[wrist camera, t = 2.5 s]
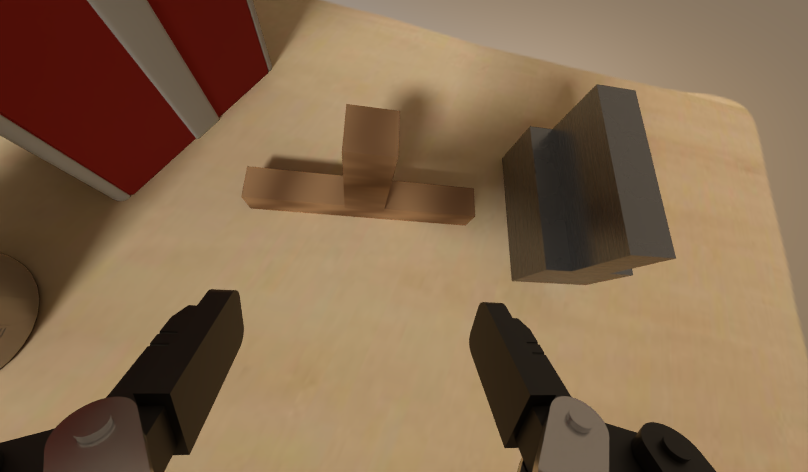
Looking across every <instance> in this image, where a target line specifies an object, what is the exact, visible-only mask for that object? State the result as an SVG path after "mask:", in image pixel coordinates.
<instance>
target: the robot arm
mask: <svg viewBox="0 0 808 472" xmlns="http://www.w3.org/2000/svg"><path fill="white" fill-rule="evenodd" d="M38 307H39V295H38V288H37V285H36V283H35V280H34V278H33V276H32V274H31V273H30V272H29V271H28V270H27V269H26V268H25V266H24V265H23V264H21V263H20V262H18V261H16V260H15V259H13V258H12V257H9V256H7V255H4V254H1V253H0V368H2V367H3V366H4V365H5V364H6V363H7V362H9V361H10V360H11V359H12V357H13V356H14V355H15V354H16V353H17V352H18V351H19V349H20V348H21V347H22V346H23V344H24V343H25V341H26V339H27V338H28V336H29V334H30V333H31V331H32V329H33V326H34V323H35V320H36V318H37V315H38ZM243 333H244V325H243V318H242V310H241V303H240V296H239V293H238V291H236V290H215V289H211V290H209V291H208V292H207V293H206V294H205V296H204V297H203V298H202V300H201V301H200V303H199V304H198V305H197V306H193V305H188V306H187V307H185V308H184V309H182V310H181V311H179V312H178V313H177V314H175V315H174V316H172V317H171V318H170V319H169V321H168V322H167V323H166V324H165V326H164V327H163V328H162V329H161V330H160V334H157V335H156V337H155V338H154V339H153V340H152V342H151V343H150V346H148V347H147V348H146V349H145V350H144V352H143V353H142V354H141V355H140V357H139V358H138V359H137V360H136V362H135V363H134V364H133V365H132V367H131V368H130V369H129V370H128V371H127V373H126V374H125V375H124V376H123V378H122V379H121V380H120V381H119V383H118V384H117V385H116V386H115V388H114V389H113V390H112V391H111V393H110V394H109V395H108V396H107V397H106V398H104V399H100V400H97V401H95V402H92V403H90V404H88V405H85V406H84V407H82V408H80V409H78V410H76V411H75V412H74V413H72V414H71V415H69V416H68V417H67V418H65V419H64V420H63V421H62V422H61V423H60V424H59V425H58V426H57V427H56V428H55V429H51V430H48V431H44V432H40V433H37V434H33V435H29V436H25V437H21V438H17V439H13V440H10V441H6V442H2V443H0V472H164V471H165V469H166V467H167V465H168V463H169V461H170V459H171V457H172V455H190V453H191V450H192V448H193V446H194V444H195V442H196V440H197V438H198V436H199V433H200V431H201V429H202V427H203V425H204V423H205V421H206V419H207V416H208V414H209V412H210V410H211V408H212V406H213V404H214V402H215V399H216V397H217V395H218V393H219V391H220V389H221V387H222V384H223V382H224V380H225V378H226V376H227V374H228V372H229V370H230V367H231V365H232V363H233V361H234V359H235V357H236V355H237V353H238V350H239V348H240V346H241V343H242V339H243ZM469 345H470V351H471V355H472V357H473V360H474V363H475V366H476V369H477V371H478V374H479V377H480V380H481V383H482V386H483V388H484V391H485V394H486V397H487V400H488V402H489V405H490V408H491V411H492V414H493V417H494V419H495V422H496V425H497V428H498V431H499V433H500V436H501V439H502V442H503V445H504V448H519V450H520V453H521V455H522V458H521V460H520V463H519V466H518V470H517V472H716V471H715V470H714V468H713V467H712V466H711V465H710V463H709V462H708V461H707V460H706V459H705V457H704V456H703V455H702V454H701V452H700V451H699V450H698V449H697V448H696V447H695V446H694V445H693V444H692V443H691V442H690V441H689V440H688V439H687V438H685V437H684V436H683V435H681V434H680V433H679V432H677V431H675V430H674V429H672V428H670V427H668V426H665V425H663V424H659V423H654V422H650V423H646V424H645V425H643V426H642V428H641V429H640V430H639V432H638V433H636V432H633V431H629V430H626V429H623V428H620V427H616V426H613V425H610V424H607V423H604V421H603V420H602V418H601V417H600V416H599V415H598V414H597V413H596V411H594V410H593V409H592V408H591V407H590V406H588V405H587V404H586V403H584V402H582V401H580V400H578V399H576V398H573V397H571V396H570V394H569V392H568V391H567V389H566V387H565V386H564V384H563V383H562V381H561V379H560V378H559V376H558V374H557V373H556V371H555V369H554V368H553V366H552V365H551V363H550V361H549V360H548V358H547V356H546V355H544V352H543V350H542V348H541V347H540V345H538V342H537V340H536V339H535V337H534V335H533V334H532V332H531V330H530V329H529V328H528V327H527V326H526V325H524V324H523V323H522V322H521V321H520V320H519V319H517V318H512V316H511V314H510V313H509V311H508V309H507V308H506V306H505V305H504V304H503V303H489V302H482V303H480V305H479V307H478V310H477V313H476V316H475V320H474V323H473V326H472V329H471V333H470V338H469Z"/></svg>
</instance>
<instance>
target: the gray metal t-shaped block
mask: <svg viewBox="0 0 808 472" xmlns="http://www.w3.org/2000/svg"><path fill="white" fill-rule="evenodd" d="M502 160H503V173H504V186H505V198H506V211H507V224H508V236H509V249H510V261H511V274H512V281H521V282H540V283H558V284H577V285H588V284H593V283H598V282H602V281H607V280H612V279H617V278H622V277H627V276H632V275H633V272H632V268H636V267H641V266H645V265H649V264H654V263H658V262H662V261H667V260H671V259H676V256H675V252H674V248H673V244H672V240H671V236H670V232H669V227H668V223H667V219H666V215H665V211H664V207H663V203H662V199H661V194H660V190H659V186H658V182H657V178H656V174H655V170H654V165H653V161H652V157H651V153H650V149H649V145H648V141H647V137H646V132H645V128H644V124H643V120H642V116H641V112H640V108H639V103H638V99H637V95H636V91H635V90H629V89H622V88H616V87H610V86H604V85H596V86H595V87H594V88H593V89H592V90H591V91H590V92H589V93H588V94H587V95H586V96H585V97H584V98H583V99H582V100H581V101H580V102H579V103H578V104H577V105H576V106H575V107H574V108H573V109H572V110H571V111H570V112H569V113H568V114H567V115H566V116H565V117H564V118H563V119H562V120H561V121H560V122H559V123H558V124H557V125H556V126H555V127H554V128H553V129H546V128H538V127H531V126H530V127H529V128H528V129H527V130H526V132H525V133H524V134H523V135H522V136H521V137H520V139H519V140H518V141H517V142H516V143H515V144H514V145H513V147H512V148H511V149H510V150H509V151H508V152H507V154H506V155H505V156H504V157H503V158H502Z"/></svg>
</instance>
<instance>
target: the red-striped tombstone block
mask: <svg viewBox="0 0 808 472" xmlns="http://www.w3.org/2000/svg"><path fill="white" fill-rule="evenodd" d="M271 69H272V64H271V61H270V57H269V54H268V51H267V47H266V44H265V40H264V37H263V34H262V30H261V27H260V23H259V20H258V17H257V13H256V10H255V6H254V3H253V0H0V135H1V136H2V137H4V138H6V139H8V140H9V141H11V142H13V143H15V144H17V145H18V146H20V147H22V148H24V149H25V150H27V151H29V152H31V153H32V154H34V155H36V156H38V157H40V158H41V159H43V160H45V161H47V162H48V163H50V164H52V165H54V166H55V167H57V168H59V169H61V170H63V171H64V172H66V173H68V174H70V175H71V176H73V177H75V178H77V179H79V180H80V181H82V182H84V183H86V184H87V185H89V186H91V187H93V188H94V189H96V190H98V191H100V192H102V193H103V194H105V195H107V196H109V197H110V198H112V199H114V200H117V201H124V200H127V199H129V198H130V195H131V194H132V195H133V194H135V193H136V192H137V191H138V190H139V189H140V188H141V187H143V186H144V185H145V184H146V183H147V182H148V181H149V180H150V179H151V178H153V177H154V176H155V175H156V174H157V173H158V172H159V171H160V170H161V169H162V168H164V167H165V166H166V165H167V164H168V163H169V162H170V161H171V160H172V159H174V158H175V157H176V156H177V155H178V154H179V153H180V152H181V151H182V150H184V149H185V148H186V147H187V146H188V145H189V144H190V143H191V142H192V141H193V140H195V139H196V138H197V139H198V138H200V137H201V136H202V135H203V134H205V133H206V132H207V131H208V130H209V129H210V128H211V127H212V126H213V125H214V124H216V123H217V122H218V121H219V117H220V116H221V115H222V114H223V113H224V112H226V111H227V110H228V109H229V108H230V107H231V106H232V105H233V104H234V103H236V102H237V101H238V100H239V99H240V98H241V97H242V96H243V95H244V94H245V93H247V92H248V91H249V90H250V89H251V88H252V87H253V86H254V85H255V84H257V83H258V82H259V81H260V80H261V79H262V78H263V77H264V76H265V75H266V74H268V71H271Z"/></svg>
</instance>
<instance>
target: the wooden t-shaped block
mask: <svg viewBox="0 0 808 472" xmlns="http://www.w3.org/2000/svg"><path fill="white" fill-rule="evenodd" d="M399 124H400V111H395V110H388V109H380V108H372V107H365V106H357V105H349V104H346V115H345V125H344V136H343V146H342V162H343V176H340V175H330V174H320V173H310V172H300V171H290V170H279V169H269V168H259V167H249V166H247V171H246V176H245V181H244V186H243V191H242V196H241V197H242V198H243V199H244V200H245V202H246V203H247V204H248V205H249V207H250V208H253V209H266V210H278V211H291V212H303V213H316V214H328V215H341V216H353V217H366V218H378V219H391V220H404V221H416V222H429V223H441V224H454V225H466V224H467V223H468V222H469V221H471V220H472V219H473V218H474V217H475V205H474V189H473V188H463V187H453V186H442V185H432V184H422V183H412V182H402V181H392V179H393V175H394V172H395V168H396V164H397V161H398V153H399Z"/></svg>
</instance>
